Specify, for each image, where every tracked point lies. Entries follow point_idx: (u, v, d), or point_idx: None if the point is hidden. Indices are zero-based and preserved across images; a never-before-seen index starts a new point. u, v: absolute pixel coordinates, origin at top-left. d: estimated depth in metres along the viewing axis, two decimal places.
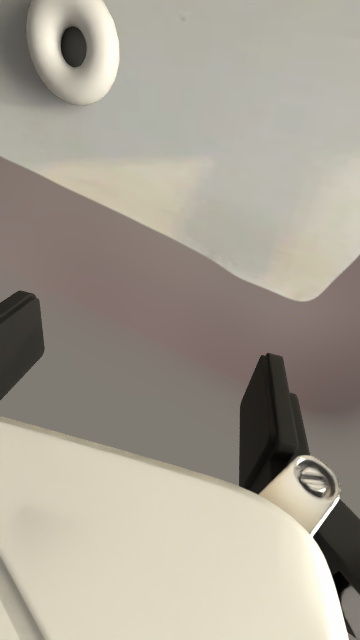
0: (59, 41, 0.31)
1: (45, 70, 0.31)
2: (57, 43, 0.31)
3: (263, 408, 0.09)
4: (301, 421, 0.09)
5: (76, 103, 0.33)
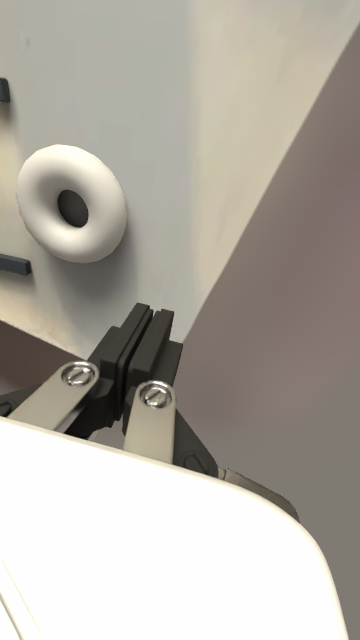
0: (70, 226, 0.27)
1: (91, 246, 0.26)
2: (71, 228, 0.27)
3: None
4: (176, 362, 0.11)
5: (123, 217, 0.25)
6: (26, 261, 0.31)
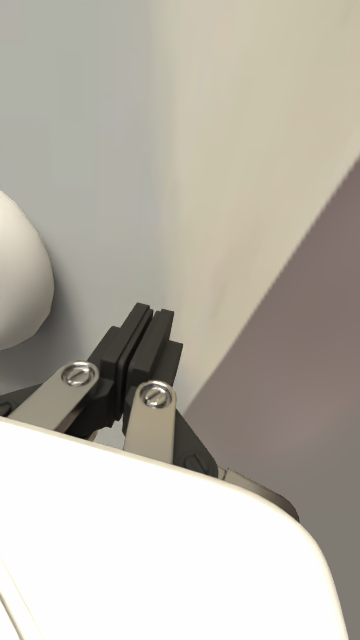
0: None
1: None
2: None
3: None
4: (176, 362, 0.11)
5: (40, 284, 0.14)
6: None
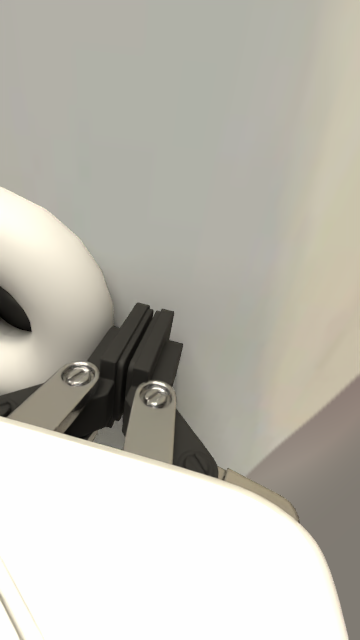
0: (3, 332, 0.14)
1: None
2: (4, 338, 0.14)
3: None
4: (176, 362, 0.11)
5: (104, 332, 0.12)
6: None
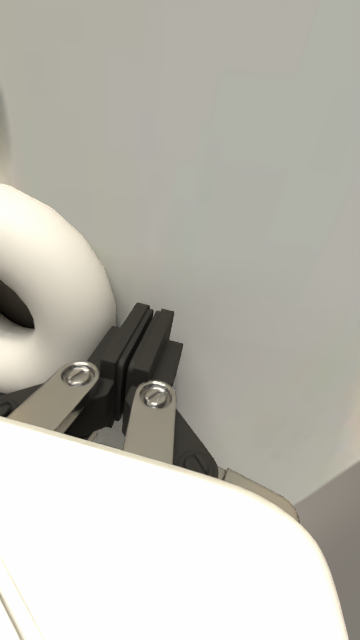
0: (4, 329, 0.14)
1: (40, 383, 0.13)
2: (6, 335, 0.14)
3: None
4: (176, 362, 0.11)
5: (107, 331, 0.12)
6: None
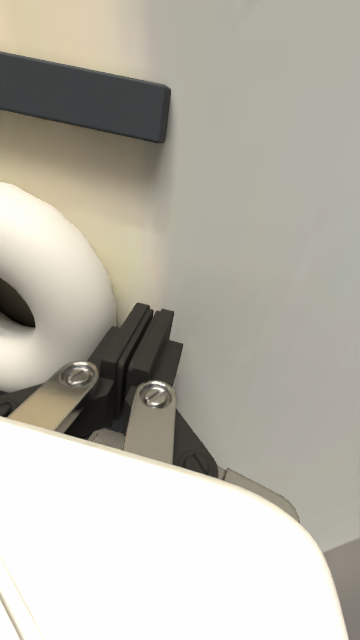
0: (4, 328, 0.14)
1: (40, 381, 0.13)
2: (6, 333, 0.14)
3: None
4: (176, 362, 0.11)
5: None
6: None
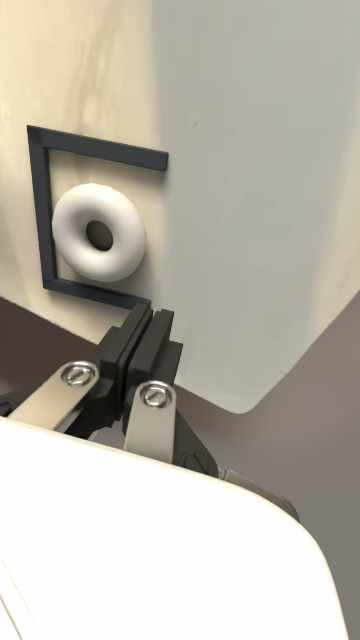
0: (96, 250, 0.31)
1: (113, 269, 0.30)
2: (97, 252, 0.31)
3: None
4: (176, 362, 0.11)
5: (143, 246, 0.29)
6: (148, 301, 0.34)
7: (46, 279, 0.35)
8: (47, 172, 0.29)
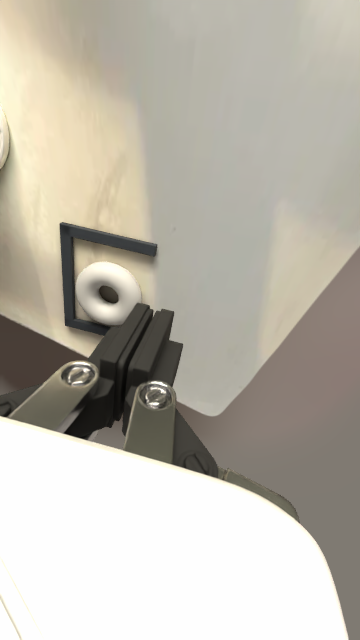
0: (106, 303, 0.44)
1: (119, 318, 0.43)
2: (106, 304, 0.43)
3: None
4: (176, 362, 0.11)
5: None
6: None
7: (67, 319, 0.48)
8: (72, 251, 0.42)
